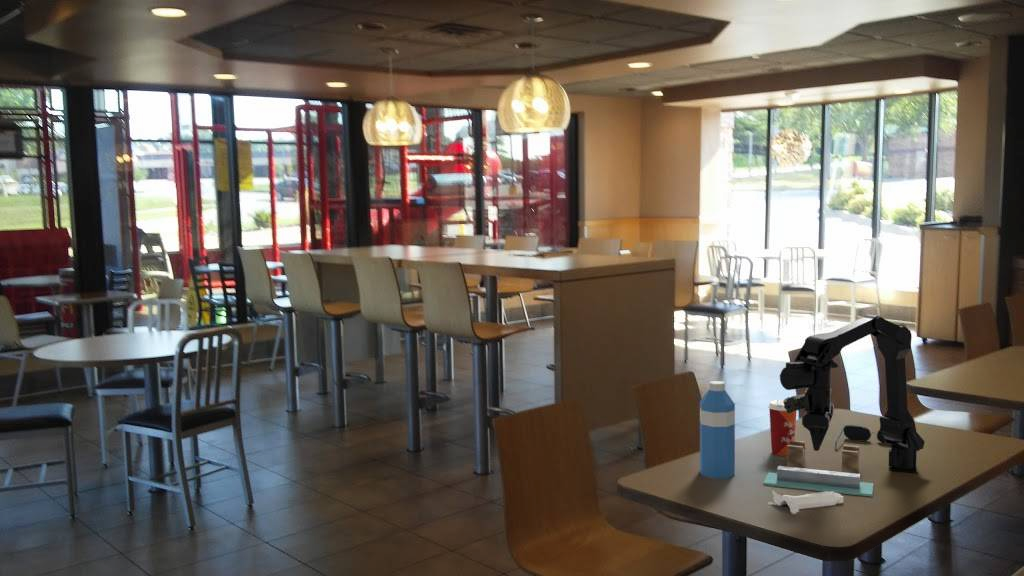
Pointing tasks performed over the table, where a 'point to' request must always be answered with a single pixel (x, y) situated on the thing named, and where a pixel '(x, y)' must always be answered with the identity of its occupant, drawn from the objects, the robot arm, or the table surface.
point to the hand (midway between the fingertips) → (817, 445)
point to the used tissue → (807, 500)
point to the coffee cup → (781, 427)
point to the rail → (818, 477)
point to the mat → (820, 486)
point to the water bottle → (717, 432)
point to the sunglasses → (859, 433)
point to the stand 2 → (850, 459)
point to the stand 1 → (796, 454)
